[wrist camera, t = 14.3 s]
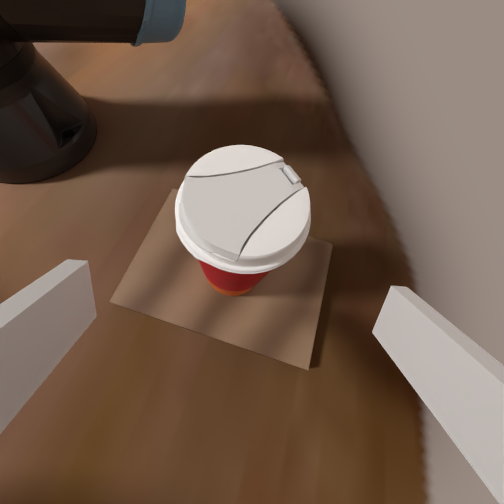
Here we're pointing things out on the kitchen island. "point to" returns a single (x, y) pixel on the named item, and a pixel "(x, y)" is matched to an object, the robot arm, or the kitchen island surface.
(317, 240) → the walnut board
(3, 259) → the kitchen island surface
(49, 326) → the robot arm
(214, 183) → the paper cup
